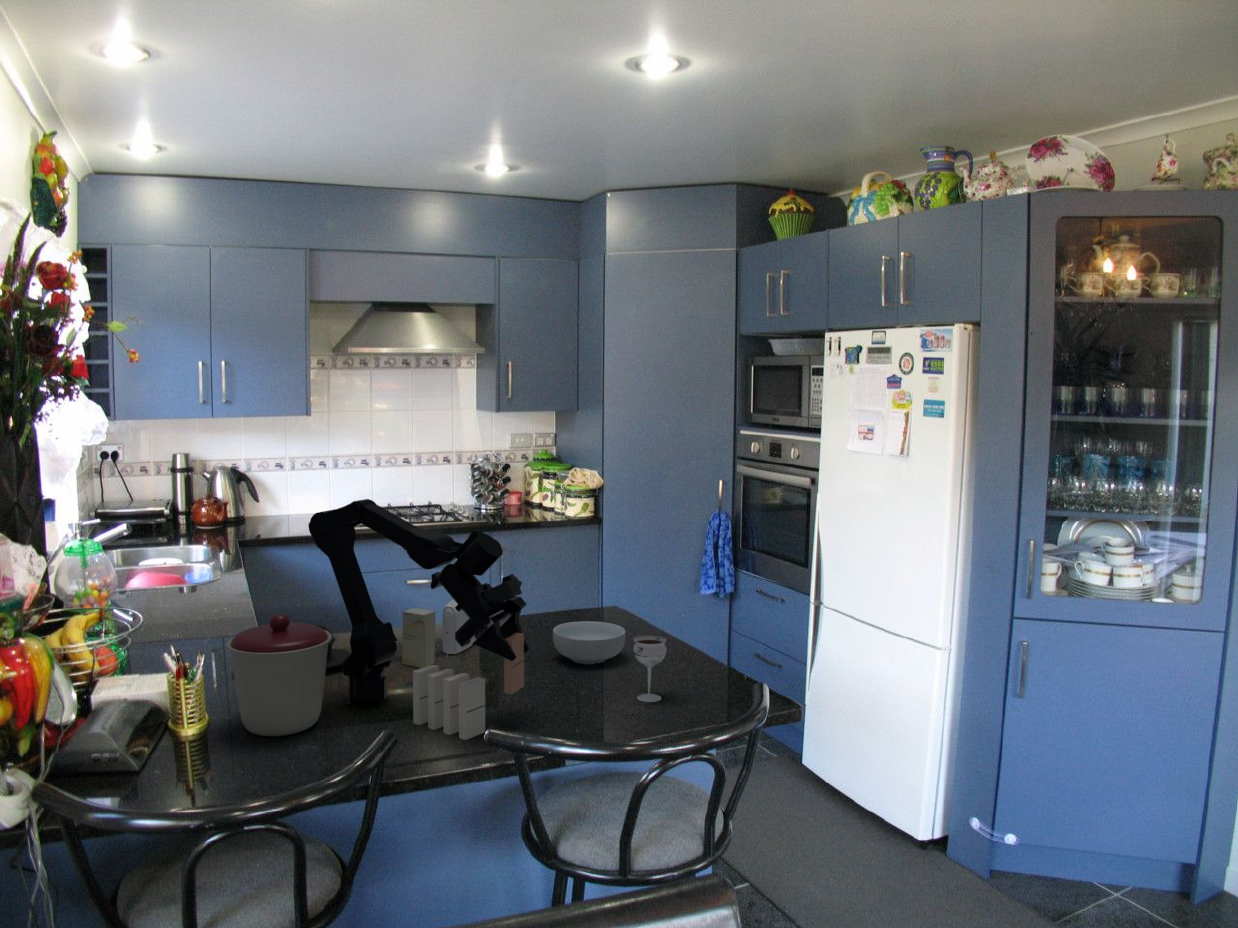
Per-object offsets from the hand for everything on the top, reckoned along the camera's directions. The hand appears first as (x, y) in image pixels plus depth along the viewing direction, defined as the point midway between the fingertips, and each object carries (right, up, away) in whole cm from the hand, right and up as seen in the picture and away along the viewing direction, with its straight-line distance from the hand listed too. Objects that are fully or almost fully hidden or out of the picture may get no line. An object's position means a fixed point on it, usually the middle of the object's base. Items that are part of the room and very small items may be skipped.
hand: (521, 655), depth 175 cm
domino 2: (-15, -13, +2) cm, 20 cm away
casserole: (-53, -10, +34) cm, 64 cm away
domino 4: (-9, -14, -3) cm, 16 cm away
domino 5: (-1, -7, +1) cm, 7 cm away
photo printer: (-20, -9, +51) cm, 56 cm away
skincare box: (-27, -10, +39) cm, 49 cm away
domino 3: (-12, -14, 0) cm, 18 cm away
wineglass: (+24, -12, +18) cm, 33 cm away
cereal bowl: (+11, -10, +44) cm, 47 cm away
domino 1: (-18, -13, +4) cm, 23 cm away
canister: (-44, -13, +1) cm, 46 cm away
